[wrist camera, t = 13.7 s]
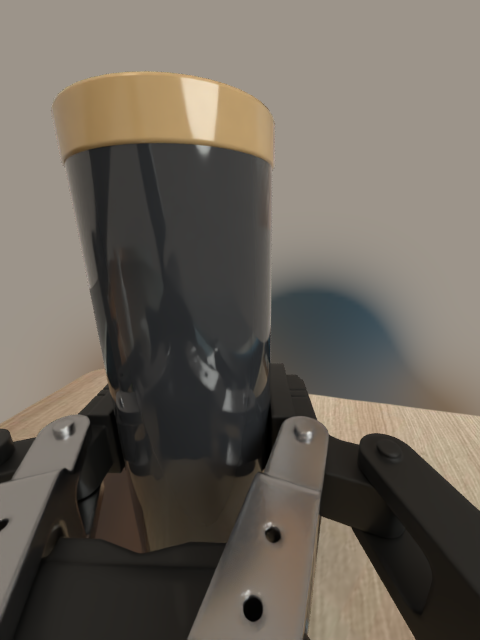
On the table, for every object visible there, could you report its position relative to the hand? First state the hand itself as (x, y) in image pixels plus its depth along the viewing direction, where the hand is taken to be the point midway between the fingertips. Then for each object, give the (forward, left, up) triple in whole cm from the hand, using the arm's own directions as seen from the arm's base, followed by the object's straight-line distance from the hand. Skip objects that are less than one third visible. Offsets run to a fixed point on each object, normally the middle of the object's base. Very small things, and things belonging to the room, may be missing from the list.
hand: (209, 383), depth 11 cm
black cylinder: (+1, -2, -12) cm, 13 cm away
